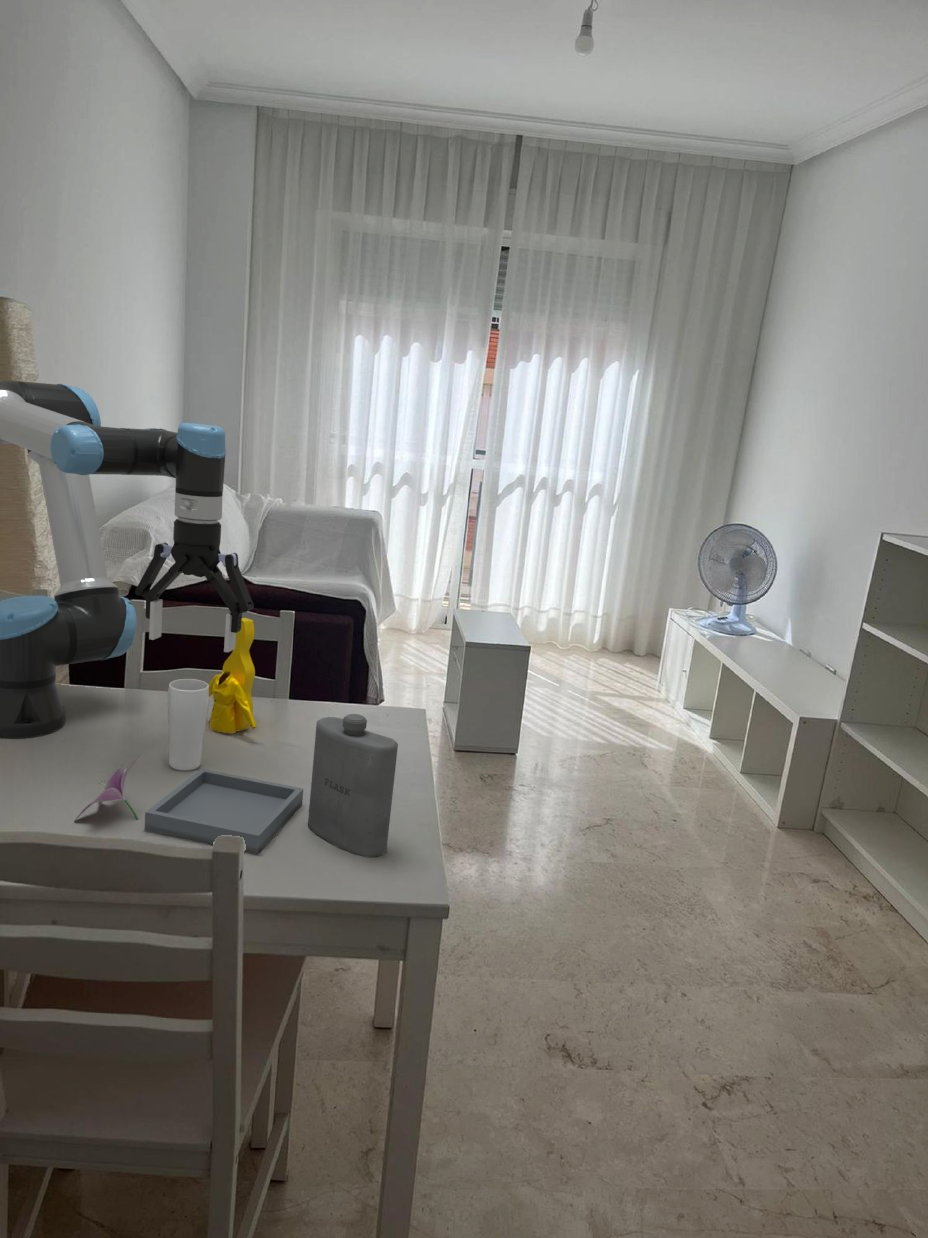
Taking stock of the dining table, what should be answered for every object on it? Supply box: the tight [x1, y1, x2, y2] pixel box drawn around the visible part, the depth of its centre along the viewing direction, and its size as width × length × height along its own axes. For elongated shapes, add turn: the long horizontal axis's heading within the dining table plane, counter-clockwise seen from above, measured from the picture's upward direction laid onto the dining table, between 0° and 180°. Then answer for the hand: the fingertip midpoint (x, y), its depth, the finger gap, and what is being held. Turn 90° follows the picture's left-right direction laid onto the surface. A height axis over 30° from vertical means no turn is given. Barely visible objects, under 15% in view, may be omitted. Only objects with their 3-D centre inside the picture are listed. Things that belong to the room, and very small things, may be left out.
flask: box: [307, 713, 399, 858], centre depth 140 cm, size 15×6×20 cm, turn 53°
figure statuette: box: [208, 617, 257, 734], centre depth 178 cm, size 18×8×22 cm, turn 57°
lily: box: [73, 755, 142, 823], centre depth 140 cm, size 12×12×10 cm
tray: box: [144, 768, 304, 855], centre depth 144 cm, size 18×18×3 cm
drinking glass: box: [167, 678, 210, 772], centre depth 159 cm, size 7×7×15 cm
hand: (192, 644), depth 156 cm, fingers open, 13 cm apart
